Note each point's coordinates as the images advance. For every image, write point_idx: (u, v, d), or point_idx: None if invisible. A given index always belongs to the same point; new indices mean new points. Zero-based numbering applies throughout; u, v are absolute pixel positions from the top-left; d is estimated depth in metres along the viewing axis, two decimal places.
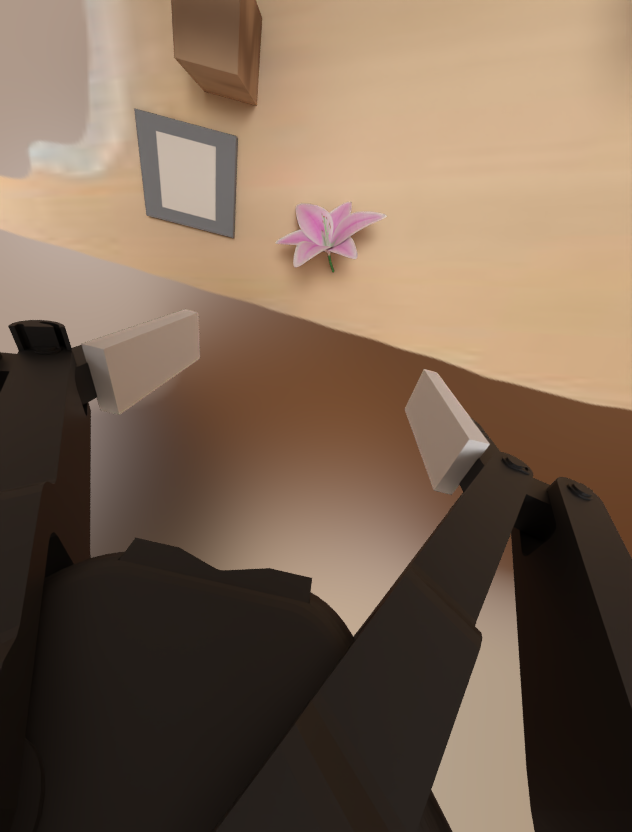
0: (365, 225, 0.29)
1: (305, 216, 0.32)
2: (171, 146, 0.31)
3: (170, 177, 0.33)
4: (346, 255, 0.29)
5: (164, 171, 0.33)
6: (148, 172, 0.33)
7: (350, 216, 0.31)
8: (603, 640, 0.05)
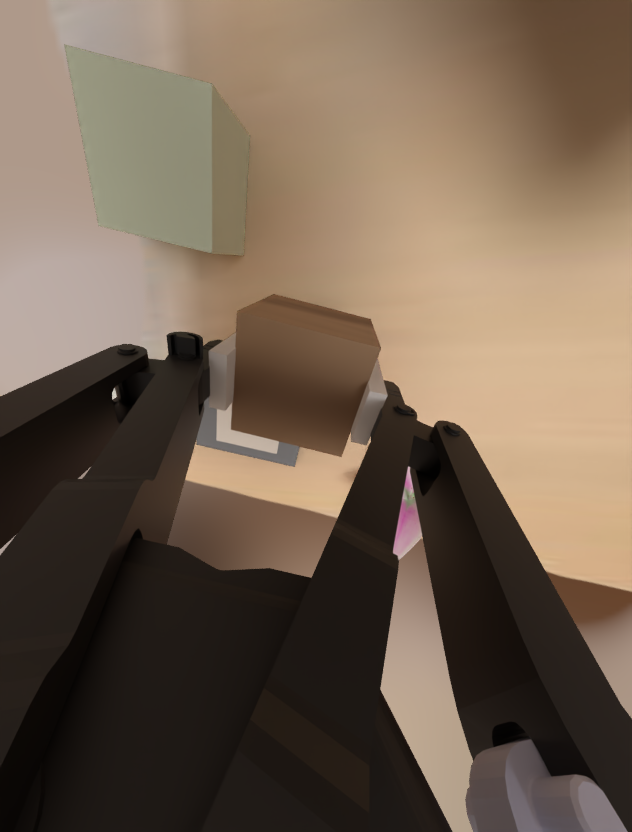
0: None
1: None
2: None
3: (228, 419, 0.29)
4: None
5: (223, 414, 0.28)
6: (203, 414, 0.29)
7: None
8: (483, 554, 0.06)
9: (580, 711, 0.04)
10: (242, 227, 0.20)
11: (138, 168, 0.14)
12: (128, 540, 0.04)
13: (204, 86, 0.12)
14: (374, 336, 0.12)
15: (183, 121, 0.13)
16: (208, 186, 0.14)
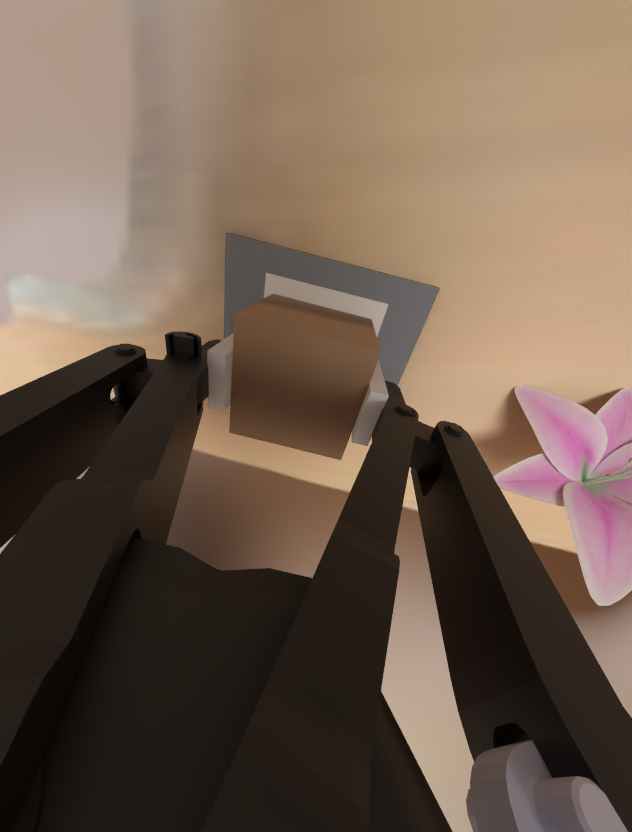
0: None
1: (549, 425, 0.16)
2: (294, 298, 0.15)
3: None
4: None
5: None
6: None
7: None
8: (484, 555, 0.06)
9: (582, 713, 0.04)
10: None
11: None
12: (127, 540, 0.04)
13: None
14: (374, 338, 0.12)
15: None
16: None
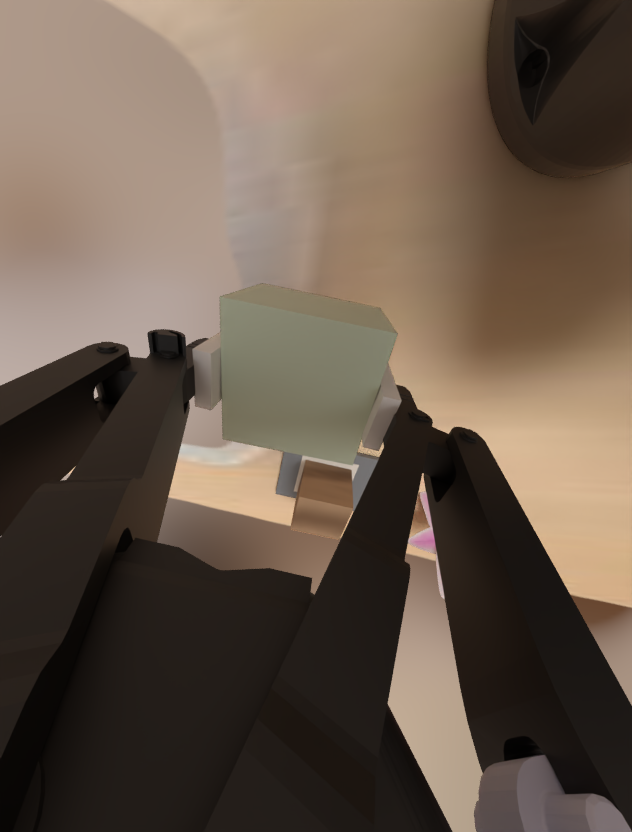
0: None
1: None
2: (315, 460, 0.33)
3: None
4: None
5: None
6: (286, 472, 0.34)
7: None
8: (499, 563, 0.05)
9: (599, 730, 0.03)
10: None
11: (283, 397, 0.12)
12: (117, 539, 0.04)
13: (386, 335, 0.10)
14: (351, 495, 0.29)
15: (350, 363, 0.11)
16: (365, 414, 0.12)
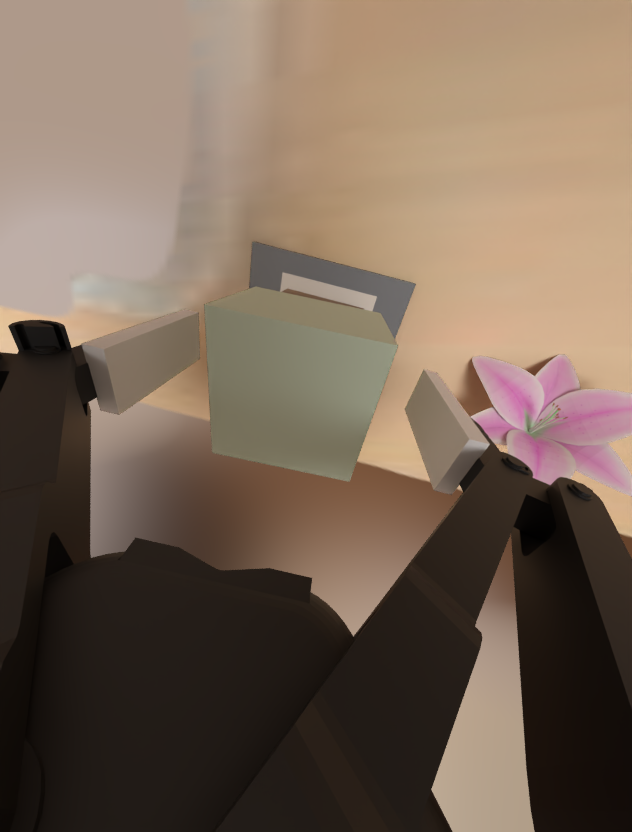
0: None
1: (498, 384, 0.20)
2: (303, 291, 0.20)
3: None
4: (614, 485, 0.16)
5: None
6: None
7: (588, 395, 0.19)
8: (603, 640, 0.05)
9: None
10: None
11: (275, 411, 0.11)
12: (46, 543, 0.04)
13: (386, 347, 0.09)
14: None
15: (347, 376, 0.10)
16: (363, 430, 0.11)
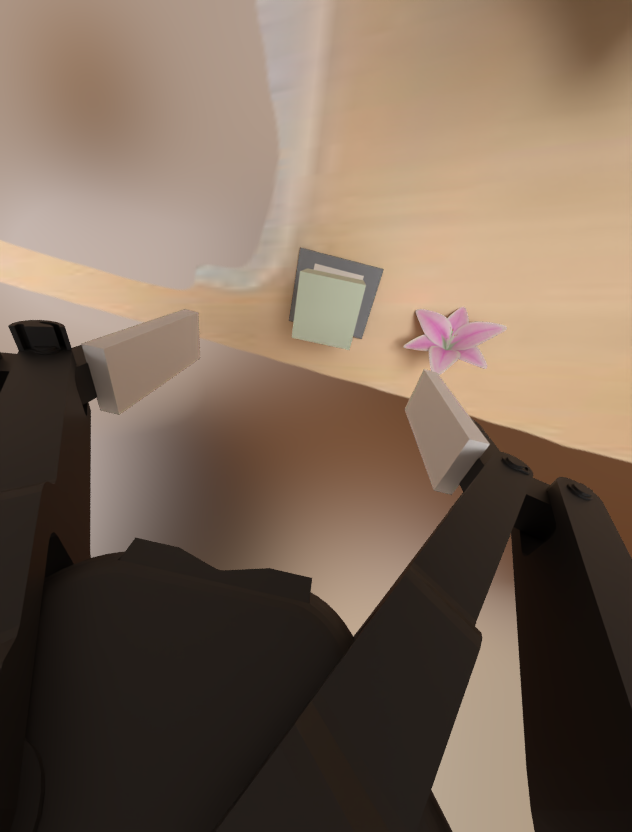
0: (489, 337, 0.35)
1: (427, 322, 0.38)
2: None
3: None
4: (476, 364, 0.34)
5: None
6: None
7: (471, 325, 0.36)
8: (602, 640, 0.05)
9: None
10: None
11: (320, 315, 0.29)
12: (46, 543, 0.04)
13: (362, 285, 0.27)
14: None
15: (348, 298, 0.28)
16: (354, 322, 0.29)
